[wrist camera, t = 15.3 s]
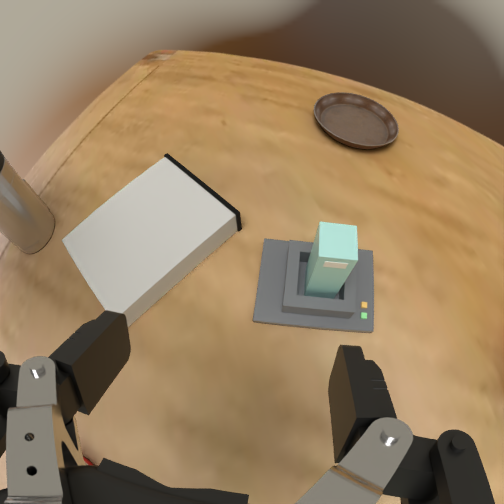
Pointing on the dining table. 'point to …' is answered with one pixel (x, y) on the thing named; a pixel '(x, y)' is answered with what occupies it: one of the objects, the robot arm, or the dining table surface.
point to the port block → (305, 307)
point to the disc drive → (150, 237)
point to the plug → (330, 259)
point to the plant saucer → (356, 120)
